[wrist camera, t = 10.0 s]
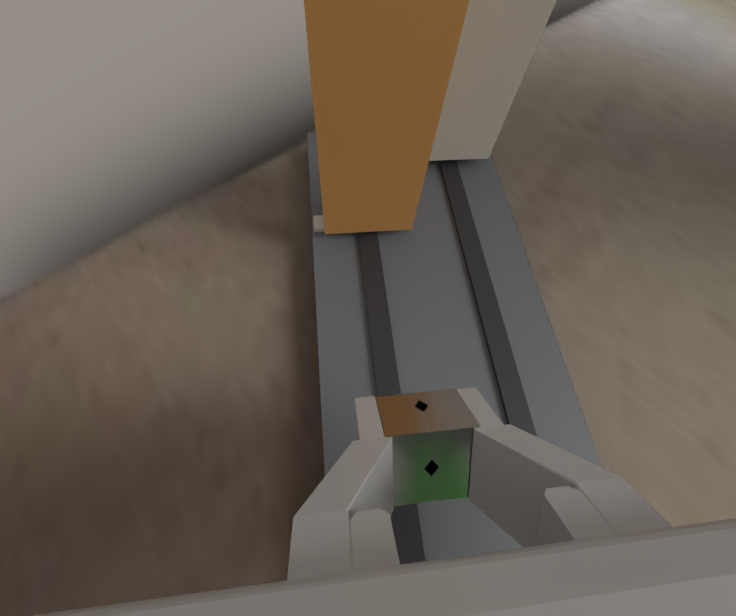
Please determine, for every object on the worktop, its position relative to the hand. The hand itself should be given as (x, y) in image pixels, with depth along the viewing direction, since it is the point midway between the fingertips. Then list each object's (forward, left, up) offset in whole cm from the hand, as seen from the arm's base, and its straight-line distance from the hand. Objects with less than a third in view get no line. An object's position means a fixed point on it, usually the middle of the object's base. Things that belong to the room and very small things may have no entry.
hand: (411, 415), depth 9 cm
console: (-5, -3, -6) cm, 8 cm away
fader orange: (-6, -8, -4) cm, 11 cm away
